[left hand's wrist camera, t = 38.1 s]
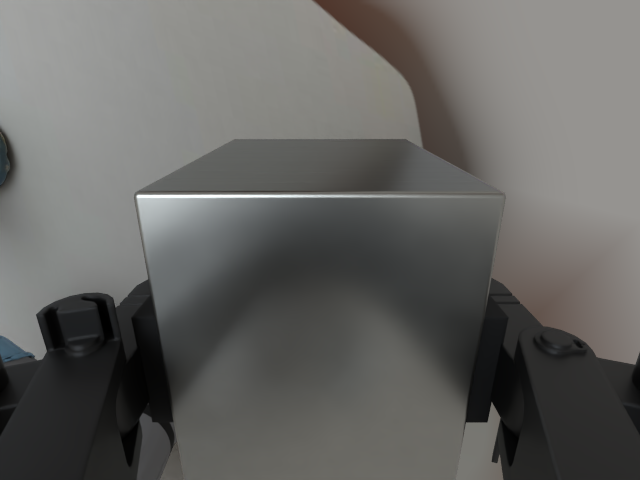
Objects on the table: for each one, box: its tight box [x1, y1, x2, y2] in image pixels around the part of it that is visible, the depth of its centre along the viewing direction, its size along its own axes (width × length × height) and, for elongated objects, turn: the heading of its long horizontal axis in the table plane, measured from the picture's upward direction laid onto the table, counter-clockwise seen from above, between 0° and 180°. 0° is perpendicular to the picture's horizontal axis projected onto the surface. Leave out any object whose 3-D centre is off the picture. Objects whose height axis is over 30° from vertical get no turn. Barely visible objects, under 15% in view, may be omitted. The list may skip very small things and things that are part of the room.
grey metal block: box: [134, 139, 505, 480], centre depth 11 cm, size 6×8×8 cm
